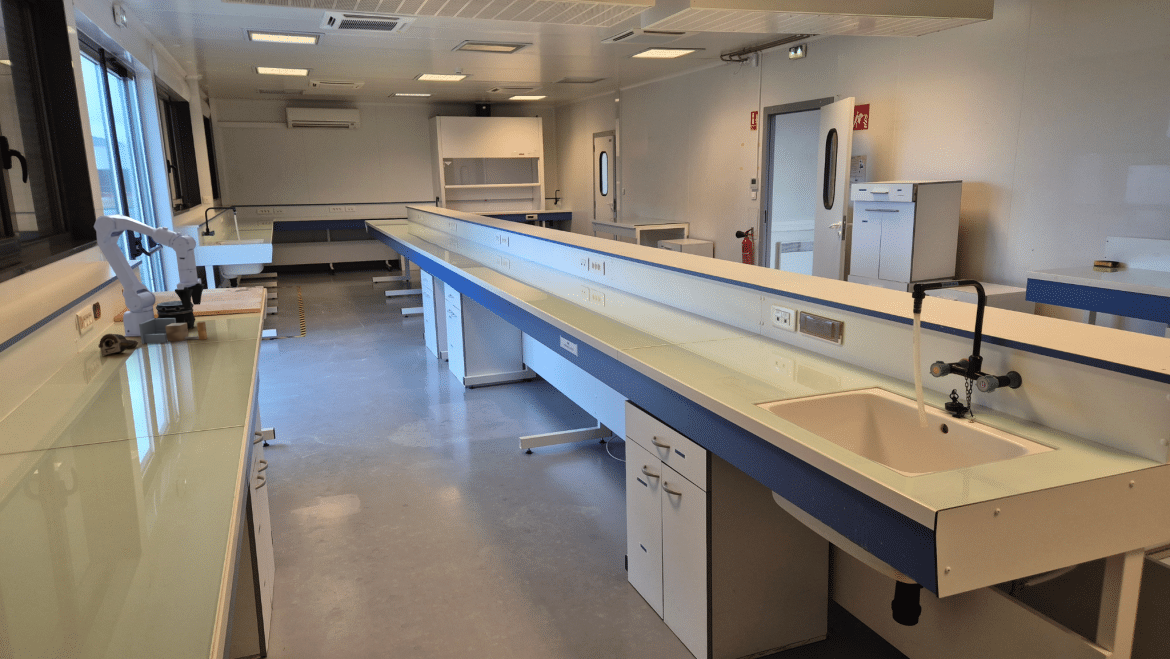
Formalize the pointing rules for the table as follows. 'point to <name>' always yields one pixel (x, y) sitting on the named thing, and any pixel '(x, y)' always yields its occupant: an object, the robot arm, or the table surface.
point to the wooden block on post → (184, 331)
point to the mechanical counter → (115, 344)
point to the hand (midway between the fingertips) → (192, 306)
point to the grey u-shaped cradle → (155, 330)
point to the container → (176, 312)
